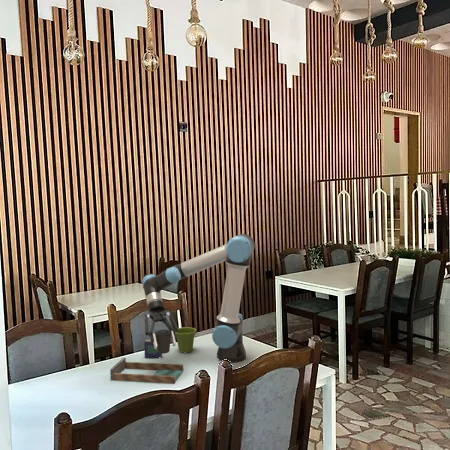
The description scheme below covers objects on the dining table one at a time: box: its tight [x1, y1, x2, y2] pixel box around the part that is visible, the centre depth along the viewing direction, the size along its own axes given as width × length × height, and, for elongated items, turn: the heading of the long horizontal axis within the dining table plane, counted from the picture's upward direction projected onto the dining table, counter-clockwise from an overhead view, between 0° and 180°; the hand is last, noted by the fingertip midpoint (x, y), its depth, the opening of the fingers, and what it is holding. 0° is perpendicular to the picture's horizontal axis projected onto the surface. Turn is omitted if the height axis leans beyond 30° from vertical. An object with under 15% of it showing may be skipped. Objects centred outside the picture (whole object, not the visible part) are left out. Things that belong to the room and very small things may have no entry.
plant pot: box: [175, 326, 197, 353], centre depth 266 cm, size 12×12×11 cm
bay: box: [109, 357, 184, 385], centre depth 232 cm, size 30×16×5 cm, turn 80°
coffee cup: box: [154, 329, 172, 355], centre depth 230 cm, size 8×8×10 cm
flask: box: [143, 338, 163, 359], centre depth 256 cm, size 9×3×11 cm, turn 87°
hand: (165, 346), depth 227 cm, fingers closed on coffee cup, 8 cm apart
